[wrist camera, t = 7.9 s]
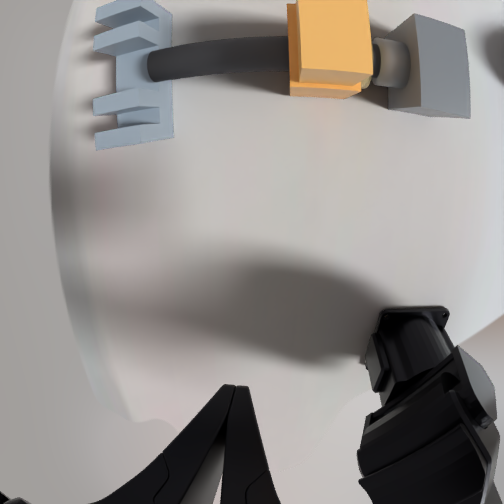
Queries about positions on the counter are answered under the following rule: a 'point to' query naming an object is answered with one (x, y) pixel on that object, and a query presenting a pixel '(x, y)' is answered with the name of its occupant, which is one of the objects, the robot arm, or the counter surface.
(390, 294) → the counter surface
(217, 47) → the black rod
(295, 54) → the sleeve
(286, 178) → the counter surface
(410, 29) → the connector
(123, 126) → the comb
